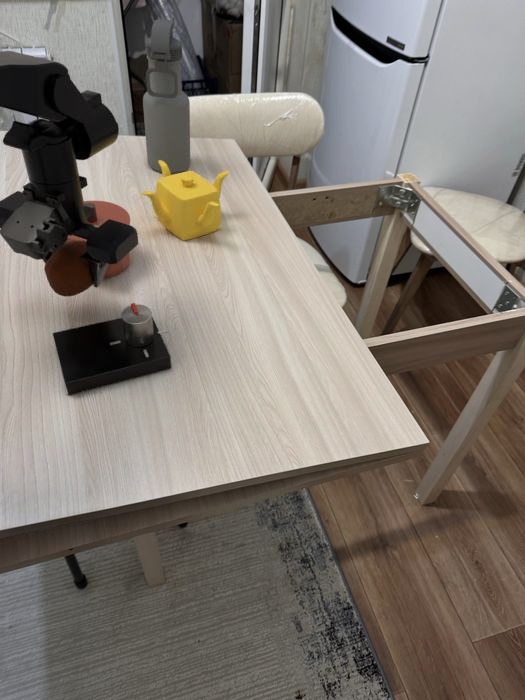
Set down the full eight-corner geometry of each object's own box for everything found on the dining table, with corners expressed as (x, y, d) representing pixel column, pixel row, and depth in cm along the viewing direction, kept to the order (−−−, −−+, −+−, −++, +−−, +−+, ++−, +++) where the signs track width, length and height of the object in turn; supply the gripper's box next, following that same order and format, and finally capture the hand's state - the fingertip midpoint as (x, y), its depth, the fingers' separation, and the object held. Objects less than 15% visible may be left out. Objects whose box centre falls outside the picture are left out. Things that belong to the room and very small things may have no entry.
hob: (68, 395, 64) (64, 382, 62) (56, 345, 70) (52, 331, 68) (178, 366, 69) (178, 353, 67) (158, 322, 75) (157, 309, 73)
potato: (34, 292, 68) (23, 253, 63) (80, 260, 74) (73, 223, 70) (73, 310, 66) (64, 271, 62) (117, 275, 72) (112, 238, 68)
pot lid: (59, 252, 74) (54, 231, 72) (46, 211, 82) (41, 192, 79) (139, 239, 79) (137, 219, 76) (120, 202, 86) (118, 183, 84)
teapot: (161, 200, 101) (158, 154, 94) (228, 209, 101) (230, 164, 94) (142, 238, 91) (138, 190, 84) (217, 248, 91) (218, 201, 84)
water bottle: (187, 177, 109) (185, 33, 90) (144, 173, 109) (132, 27, 89) (192, 157, 117) (191, 20, 97) (151, 153, 116) (141, 14, 96)
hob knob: (157, 343, 68) (155, 318, 65) (129, 350, 67) (125, 324, 64) (149, 325, 71) (146, 300, 67) (121, 331, 69) (118, 306, 66)
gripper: (-63, 181, 55) (-20, 290, 66) (78, 225, 51) (99, 333, 62) (7, 146, 62) (35, 249, 73) (135, 183, 59) (144, 285, 70)
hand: (76, 278), depth 69 cm, fingers closed on potato, 7 cm apart
